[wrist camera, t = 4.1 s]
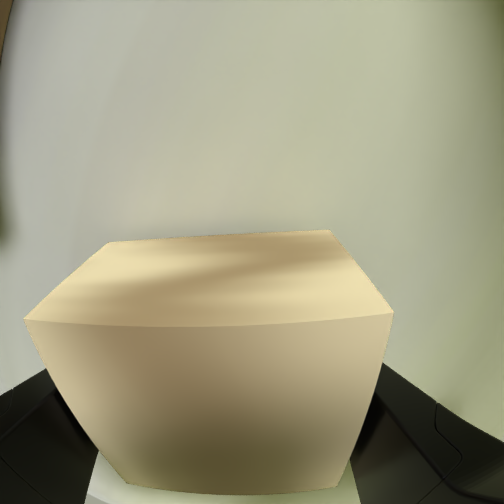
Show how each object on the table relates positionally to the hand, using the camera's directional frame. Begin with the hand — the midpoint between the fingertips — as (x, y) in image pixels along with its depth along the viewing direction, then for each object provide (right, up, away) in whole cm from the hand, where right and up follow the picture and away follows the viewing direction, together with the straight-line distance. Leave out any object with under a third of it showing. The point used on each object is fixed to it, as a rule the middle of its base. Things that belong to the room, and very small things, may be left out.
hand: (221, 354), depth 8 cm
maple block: (0, 0, +1) cm, 1 cm away
